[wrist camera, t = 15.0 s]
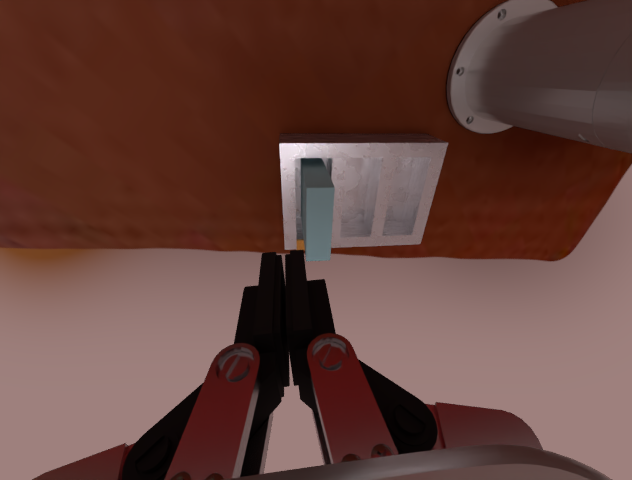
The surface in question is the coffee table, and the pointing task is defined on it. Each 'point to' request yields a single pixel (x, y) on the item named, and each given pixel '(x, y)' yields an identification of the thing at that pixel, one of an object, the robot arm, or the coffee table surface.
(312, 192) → the panel
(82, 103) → the coffee table surface
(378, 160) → the frame
